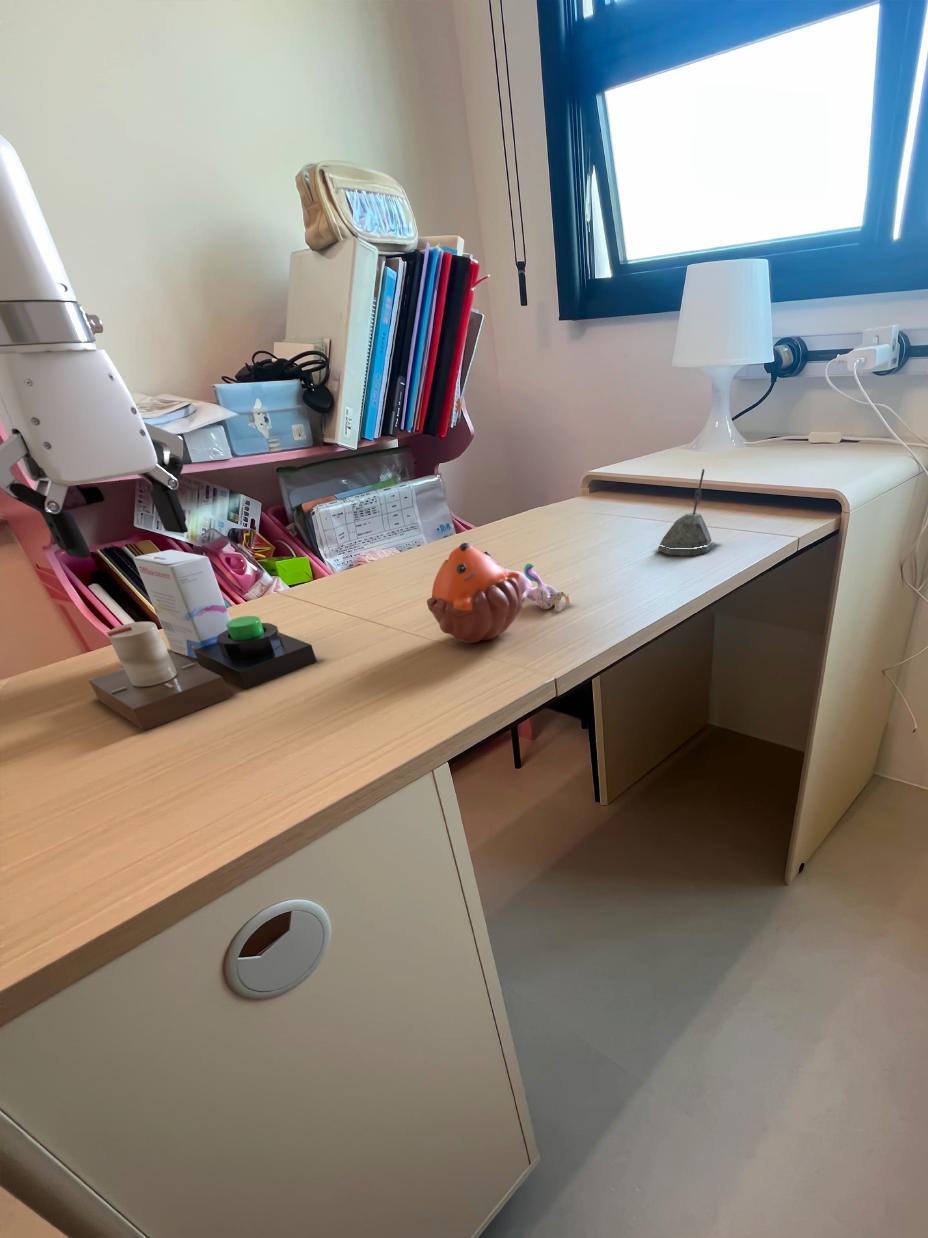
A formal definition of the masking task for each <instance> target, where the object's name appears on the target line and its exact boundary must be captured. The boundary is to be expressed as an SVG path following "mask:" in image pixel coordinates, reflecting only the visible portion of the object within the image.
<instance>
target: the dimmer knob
mask: <svg viewBox="0 0 928 1238" xmlns="http://www.w3.org/2000/svg"><path fill="white" fill-rule="evenodd" d="M106 635H107V637H108V639H109V642H110V644H111V646H112V648H113V649H114V651H115V654H116V655H117V658H118V659H119V661H120V663H121V666H122V669H124V670H125V672H126V674H127V676H128V678H129V680H130V682H131V684H132V685H134V686H138V687H145V686H152V685H157V684H161V683H164V682H166V681H168V680H170V679H172V678H174V677H175V676H176V675H177V671H176V669H175V666H174V664H173V662H172V660H171V657H170V655H169V654H170V653H169V651H168V648H167V647H166V643H165V642H164V639H163V637H162V636H161V632H160V631H159V629H158V626H157V623H155V622H153V621H136V622H135V621H134V622H129V623H126V624H122V625H119V626H116V627H114V628H112V629H110V630H109V631H107V632H106Z"/></svg>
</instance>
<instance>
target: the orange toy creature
mask: <svg viewBox="0 0 928 1238" xmlns="http://www.w3.org/2000/svg"><path fill="white" fill-rule="evenodd" d="M503 568H504V567H502V565H500V563H499V562H497V561H496V560H495V559H493V558H492V556H491V554H490V552H489V551H484V552H483V551H481V550H479V549H478V548H477V547H475V546H473V545H472V544H471V543H468V542H463V543H461V544H460V545H459V546H457V547H456V548H455V549H453V550H452V551H451V552H450V554H449V555H448V558H447V559H444V561H443V563H442V565H441V566H440V568H439V569H438V571H437V573H436V575H435V578H434V581H433V586H432V591H431V597H430V598H428V599H427V600H426V604H427V608H428V611H429V612H430V613H432V615H433V617H434V618H435V620H436V621H437V623H438V625H439V628H440V630H441V632H442V633H443V634H448V635H450V636H452V637H453V638H454V639H456V640H458V641H463V642H464V643H467V644H476V643H478V642H480V641H489V640H492V639H494V638H495V637H497V636H499V635H501V634H503V633H504V632H505V631H506V630H507V629H508V628H509V627H510V626H511V624H512V623H513V622H514V621H515V619H516V617H517V616H518V615H519V613H520V612H521V610H522V608H523V603H522V600H521V593H520V587H519V585H518V582H517V581H518V579H519V573H518V572H509V573H506V572H505V570H504V569H505V568H504V569H503Z"/></svg>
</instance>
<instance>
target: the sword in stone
mask: <svg viewBox="0 0 928 1238" xmlns="http://www.w3.org/2000/svg"><path fill="white" fill-rule="evenodd" d="M704 475H705V469H704V468H703V469H702V470H701V475H700V479H699V483H698V488H697V489H696V490H695V494H694V498H693V503H694V506H693V510H692V511H693V512H689V513H685V514H684V515H682V516H680V517H679V518H678V519H676V520H675V521H674V523H673V524H672V526H670V528H669V529H668V531H667V532H666V533H665V535H664V536H663V537H662V539H661V542H660V543H659V545H663V546H665V547H662V546H659V545H658V549H657V551H658V552H661V553H664V554H666V555H670V556H688V557H691V556H697V555H703V554H707V553H708V552H709V551H712V550H713V549H714V548H715V547H716V546H717V544H716V543H715V542H713V541H712V536H711V534H710V532H709V529H708V527H707V524H706V522H705V519H704V518H703V516H702V514H701V513H699V512H696V511H697V507H698V505H699V504H700V502H701V498H702V489H701V488H702V483H703V478H704ZM711 541H712V543H711V544H710V545H708V544H709V543H710V542H711ZM704 545H708V546H707V547H702V548H697V549H669V548H694V547H700V546H704ZM666 547H669V548H666Z"/></svg>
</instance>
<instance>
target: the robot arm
mask: <svg viewBox="0 0 928 1238" xmlns="http://www.w3.org/2000/svg"><path fill="white" fill-rule="evenodd" d="M71 284H72V283H71V282H70V280H69V277H68V274H67V271H66V269H65V267H64V264H63V262H62V259H61V256H60V253H59V251H58V248H57V247H56V244H55V241H54V239H53V237H52V235H51V231H50V230H49V227H48V223H47V221H46V219H45V217H44V215H43V212H42V210H41V207H40V205H39V202H38V199H37V198H36V195H35V192H34V190H33V187H32V185H31V182H30V180H29V177H28V175H27V172H26V170H25V168H24V166H23V163H22V162H21V159H20V157H19V154H18V153H17V152H16V150H15V149H14V147H13V146H12V144H11V143H10V142H9V141H8V139H6V138H5V137H4V136H3V135H1V134H0V421H1V425H2V426H3V429H4V431H5V434H6V436H7V439H5V440H4V441H3V442H2V443H1V444H0V488H1V489H2V490H3V491H4V492H5V493H6V494H7V496H9V497H11V498H13V499H15V500H16V501H19V503H20V502H21V503H22V504H24V505H26V506H28V507H30V508H31V509H33V510H34V511H36V512H38V513H41V515H42V518H43V519H44V522H45V524H46V525H47V527H48V530H49V531H50V534H51V536H52V537H53V539H54V541H55V543H56V545H57V547H58V548H59V549H60V550H62V551H65V553H66V554H67V555H68V556H69V557H74V558H79V559H88V558H90V556H91V555H92V553H91V550H90V548H89V547H88V545H87V542H86V540H85V538H84V536H83V534H82V532H81V530H80V528H79V525H78V524H77V522H76V519H75V517H74V515H73V514H72V512H70V511H66V510H65V509H64V507H63V505H64V501H65V500H66V499H65V498H66V495H67V493H68V492H67V491H68V489H69V486H70V487H71V486H78V485H84V484H85V485H86V484H92V483H97V482H103V481H110V480H113V479H120V478H125V477H131V476H136V475H138V476H139V477H140V478H141V479H143V480H144V481H146V482H147V483H148V484H150V485H151V487H152V489H149V495H150V498H151V500H152V502H153V505H154V507H155V510H156V512H157V515H158V517H159V520H160V522H161V525H162V527H163V529H164V530H165V531H166V532H170V533H176V534H184V533H188V532H189V528H188V527H187V524H186V521H187V517H186V514H185V512H184V509H183V506H182V504H181V501H180V498H179V496H178V493H177V491H176V490H178V488H179V484H180V483H179V478H180V476H181V474H182V472H183V469H184V462H183V460H182V459H183V458H184V457H183V456H184V439H183V438H182V437H181V436H180V435H178V434H176V433H173V432H170V431H168V430H165V429H162V428H160V427H159V426H155V425H152V424H150V423H148V422H144V420H143V418H142V415H141V414H140V411H139V409H138V407H137V405H136V403H135V401H134V399H133V397H132V395H131V393H130V391H129V389H128V388H127V385H126V383H125V382H124V380H123V378H122V376H121V374H120V373H119V371H118V369H117V368H116V366H115V364H114V363H113V361H112V360H111V358H110V357H109V355H108V354H107V352H106V350H105V349H98V348H97V345H96V338H95V334H102V333H103V332H104V327H103V323H102V321H101V319H100V318H99V316H97V315H96V314H88V313H87V312H85V310H84V308H83V306H82V304H79V303H78V299H77V297H76V294H75V292H74V289H73V287H72V285H71ZM153 443H156V444H159V445H160V446H161V447H162V449H163V452H162V453H163V458H162V459H161V461H160V464H158V455H157V452H156V450H155V447H154V444H153ZM17 463H19V464H20V466H21V469H22V470H23V472H24V473H25V475H26V476H27V477H28V478H29V479H30V480H31V481H32V482H35V483H34V487H33V488H32V487H30V486H28V485H26V484H24V483H22V482H21V481H20V480H19V479H18V478H17V477H16V476H15V475H14V474H13V473H12V468H13V467H14V466H15V465H16V464H17Z"/></svg>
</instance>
